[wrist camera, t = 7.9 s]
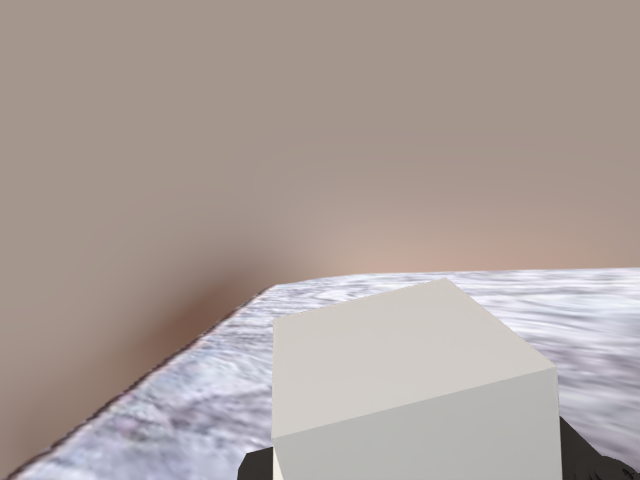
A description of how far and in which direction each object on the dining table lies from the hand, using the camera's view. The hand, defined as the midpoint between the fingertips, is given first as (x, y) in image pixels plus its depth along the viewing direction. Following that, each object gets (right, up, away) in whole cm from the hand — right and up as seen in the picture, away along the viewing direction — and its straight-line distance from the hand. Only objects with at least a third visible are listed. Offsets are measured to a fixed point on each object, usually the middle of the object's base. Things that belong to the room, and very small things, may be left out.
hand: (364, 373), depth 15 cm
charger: (+2, -8, -3) cm, 9 cm away
